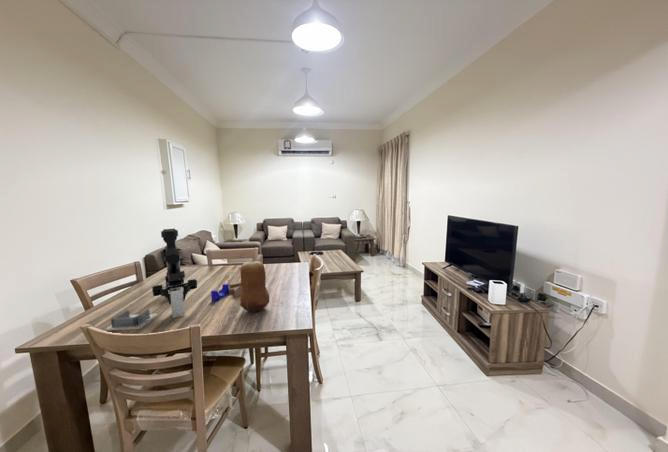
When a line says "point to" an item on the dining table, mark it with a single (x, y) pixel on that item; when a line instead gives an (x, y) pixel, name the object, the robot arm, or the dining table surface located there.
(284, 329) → the dining table surface
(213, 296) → the cable clip
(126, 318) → the keeper bracket
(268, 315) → the dining table surface
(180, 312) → the white upright block
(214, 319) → the dining table surface
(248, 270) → the butternut squash
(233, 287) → the wooden block set
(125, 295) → the dining table surface
